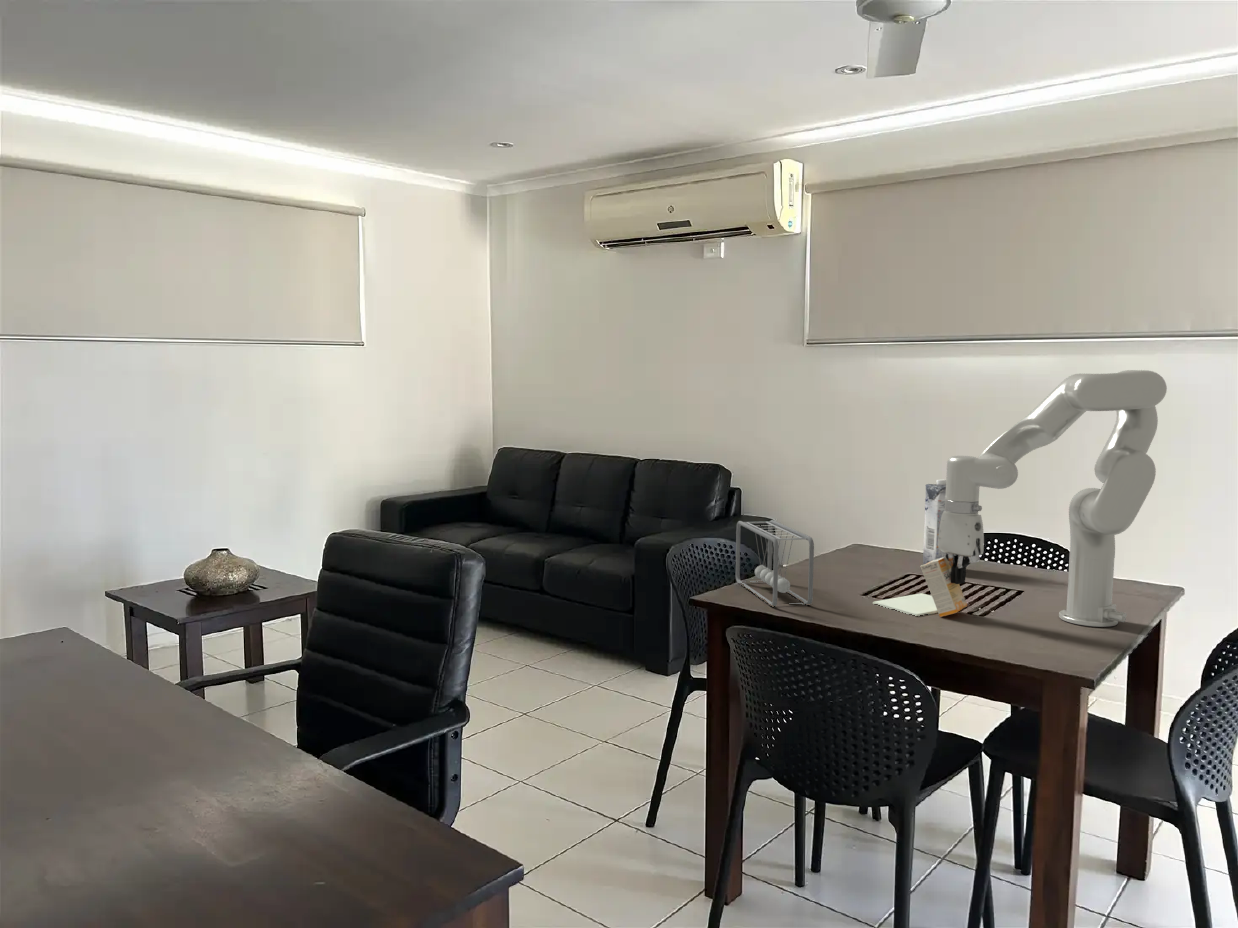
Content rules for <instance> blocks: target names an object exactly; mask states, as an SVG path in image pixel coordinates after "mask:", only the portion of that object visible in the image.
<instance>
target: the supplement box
mask: <svg viewBox="0 0 1238 928" xmlns="http://www.w3.org/2000/svg"><path fill="white" fill-rule="evenodd" d="M919 567H920V568H921V569H920V570H921V571H922V574H923V577H924V579H925V582H926V585H927V588H928V589H929V591H930V596H932V598H933V600H934V603H935V605H936V608H937V611H938V616H939V617H941V618H942V617H946V616H949V615H953V614H956V613H958V612H960V611H962V610H963V609H964V608H966V607H967V606H968V603H967V601H966V598H965V596H964V594H963V590H962V588H961V586H960V584H955V583H951V566H950V565H949V561H948V560H947V558H946V557H942V558H939V559H936V560H933V561H931V562H929V563H927V564H924V565H923V564H921V565H920V566H919Z"/></svg>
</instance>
